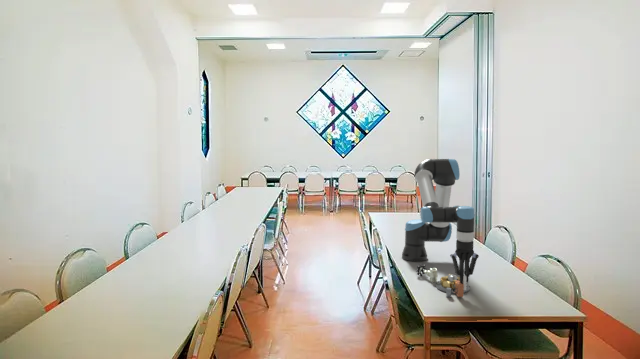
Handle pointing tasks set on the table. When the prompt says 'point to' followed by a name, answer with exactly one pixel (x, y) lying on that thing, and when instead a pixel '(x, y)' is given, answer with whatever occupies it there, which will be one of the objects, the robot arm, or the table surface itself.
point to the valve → (428, 273)
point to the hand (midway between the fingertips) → (463, 289)
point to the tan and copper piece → (453, 285)
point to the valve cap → (450, 278)
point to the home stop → (448, 292)
